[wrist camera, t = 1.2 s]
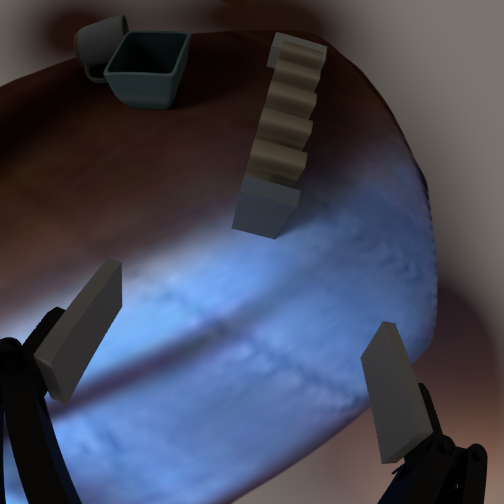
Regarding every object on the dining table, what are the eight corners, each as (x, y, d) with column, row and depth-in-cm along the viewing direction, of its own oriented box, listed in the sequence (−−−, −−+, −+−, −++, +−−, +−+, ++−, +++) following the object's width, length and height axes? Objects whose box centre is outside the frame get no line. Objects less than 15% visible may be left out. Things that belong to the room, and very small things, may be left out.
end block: (316, 80, 43) (325, 61, 39) (266, 66, 42) (271, 45, 38) (318, 65, 44) (327, 46, 40) (271, 51, 43) (276, 32, 39)
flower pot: (192, 77, 40) (192, 31, 32) (178, 122, 38) (174, 75, 29) (136, 74, 39) (127, 30, 31) (117, 118, 37) (101, 74, 29)
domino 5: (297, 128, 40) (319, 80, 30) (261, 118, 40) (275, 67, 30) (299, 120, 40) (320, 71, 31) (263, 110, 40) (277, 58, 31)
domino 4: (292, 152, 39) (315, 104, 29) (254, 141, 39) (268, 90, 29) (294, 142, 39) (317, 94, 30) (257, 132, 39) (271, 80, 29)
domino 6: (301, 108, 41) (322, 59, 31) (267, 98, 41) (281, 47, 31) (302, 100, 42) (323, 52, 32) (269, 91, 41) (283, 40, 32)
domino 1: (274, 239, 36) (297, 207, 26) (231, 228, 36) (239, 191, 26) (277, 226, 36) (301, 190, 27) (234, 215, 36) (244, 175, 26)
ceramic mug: (86, 51, 40) (75, 19, 32) (131, 39, 41) (125, 6, 34) (81, 92, 38) (66, 59, 30) (131, 79, 39) (123, 42, 32)
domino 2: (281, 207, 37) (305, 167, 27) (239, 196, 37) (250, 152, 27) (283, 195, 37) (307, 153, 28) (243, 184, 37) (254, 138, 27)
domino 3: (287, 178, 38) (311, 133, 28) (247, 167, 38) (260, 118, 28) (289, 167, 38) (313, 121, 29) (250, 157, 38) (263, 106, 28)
